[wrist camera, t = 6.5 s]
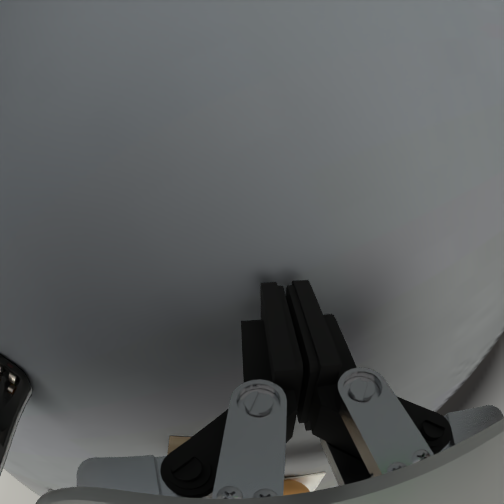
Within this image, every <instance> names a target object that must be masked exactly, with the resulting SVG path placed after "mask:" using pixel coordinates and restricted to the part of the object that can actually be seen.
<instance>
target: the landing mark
mask: <svg viewBox="0 0 504 504" xmlns="http://www.w3.org/2000/svg"><path fill="white" fill-rule="evenodd" d="M325 474H326V473H325V472H322V473H316V474H310V475H303V476H296V477H288V478H284V480H295V481H298V482H300V483H302V484H303V485H305V486H306V487H307V488H308V489H309V491H310V492H312V491H315V489H316V488H317V486H318V485H319V483H320V481H321V480H322V478H323V477H324V475H325Z"/></svg>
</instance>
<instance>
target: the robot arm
mask: <svg viewBox="0 0 504 504" xmlns="http://www.w3.org/2000/svg"><path fill="white" fill-rule="evenodd" d="M241 329H242V353H243V374H244V383H243V384H241V385H239V386H238V387H237V388H236V389H235V390H234V391H233V393H232V396H231V398H230V404H229V409H227V410H226V411H225V412H224V413H222V414H221V415H220V416H219V417H217V418H216V419H215V420H214V421H212V422H211V423H210V424H208V425H207V426H206V427H205V428H203V429H202V430H201V431H199V432H198V433H197V434H195V435H194V436H193V437H191V438H190V439H189V440H187V441H186V442H184V443H183V444H182V445H180V446H179V447H177V448H176V449H175V450H173V451H172V452H170V453H169V454H168V455H167V456H163V457H154V456H153V455H147V456H133V457H101V458H99V457H95V458H89V459H87V460H85V461H83V462H82V463H81V465H80V466H79V467H78V471H77V487H70V488H61V489H57V490H53V491H50V492H47V493H45V494H44V495H42V496H41V497H40V498H39V499H38V501H37V502H36V504H504V416H503V414H502V412H501V411H500V410H499V409H498V408H497V407H495V406H493V405H486V406H482V407H477V408H473V409H468V410H462V411H457V412H451V413H447V415H446V416H442V415H440V414H438V413H436V412H434V411H431V410H428V409H426V408H423V407H421V406H418V405H416V404H414V403H411V402H409V401H406V400H404V399H402V398H399V397H397V396H396V395H395V394H394V392H393V391H392V389H391V388H390V386H389V385H388V383H387V382H386V380H385V379H384V378H383V377H382V376H381V375H380V374H379V373H378V372H376V371H374V370H372V369H369V368H360V367H359V368H357V367H356V365H355V363H354V360H353V358H352V356H351V353H350V351H349V349H348V346H347V344H346V342H345V339H344V337H343V335H342V332H341V330H340V328H339V326H338V323H337V321H336V319H335V317H334V315H332V314H328V315H323V314H322V311H321V309H320V307H319V304H318V302H317V299H316V297H315V294H314V292H313V290H312V287H311V285H310V282H309V281H308V280H302V281H293V282H292V285H287V288H286V296H285V292H284V289H283V286H277V283H276V282H269V283H261V320H251V321H241ZM296 415H297V417H298V421H299V423H304V424H305V429H306V431H307V430H312V434H313V435H315V436H317V437H319V438H320V442H321V445H322V447H323V450H324V452H325V455H326V457H327V459H328V462H329V464H330V466H331V469H332V471H333V473H334V476H335V478H336V480H337V483H338V485H339V486H338V487H333V488H328V489H323V490H318V491H312V492H306V493H299V494H292V495H284V496H283V490H284V471H285V448H286V443H287V442H288V441H289V440H290V439H291V437H292V435H293V430H294V425H295V420H296Z"/></svg>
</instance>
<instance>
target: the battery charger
mask: <svg viewBox="0 0 504 504" xmlns="http://www.w3.org/2000/svg"><path fill="white" fill-rule="evenodd" d="M31 395H32V387H31V386H30V383H29V381H28V379H27V377H26V375H25V374H24V373H23V372H22V370H20V369H19V368H18V367H17V366H16V365H14V364H13V363H11V362H10V361H8V360H7V359H6V358H4V357H3V356H1V355H0V475H1V472H2V469H3V467H4V464H5V461H6V458H7V455H8V451H9V448H10V445H11V442H12V439H13V436H14V433H15V430H16V427H17V424H18V422H19V419H20V417H21V415H22V413H23V411H24V408H25V406H26V404H27V402H28V401H29V399H30V397H31Z"/></svg>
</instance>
